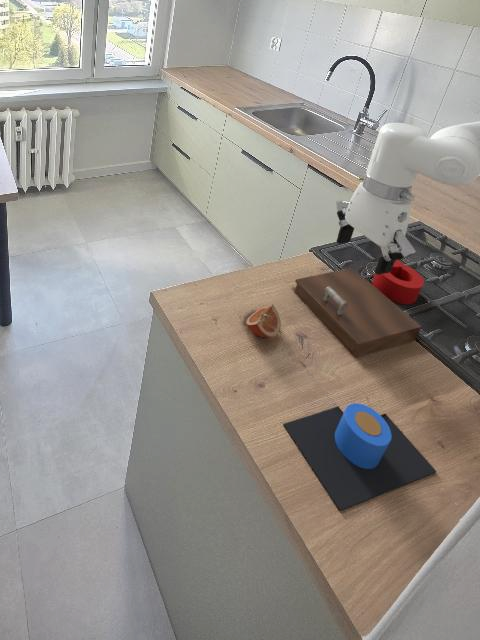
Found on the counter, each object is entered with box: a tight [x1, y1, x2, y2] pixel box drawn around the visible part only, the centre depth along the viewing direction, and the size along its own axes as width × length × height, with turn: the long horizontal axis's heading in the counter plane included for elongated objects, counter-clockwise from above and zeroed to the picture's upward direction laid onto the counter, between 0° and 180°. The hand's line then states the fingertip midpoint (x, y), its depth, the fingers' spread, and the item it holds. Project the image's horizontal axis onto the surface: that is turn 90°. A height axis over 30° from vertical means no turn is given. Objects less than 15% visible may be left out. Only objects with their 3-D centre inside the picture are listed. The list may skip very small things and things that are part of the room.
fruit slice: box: [245, 303, 282, 338], centre depth 93 cm, size 8×7×5 cm
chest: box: [294, 283, 421, 359], centre depth 97 cm, size 17×19×4 cm
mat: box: [283, 406, 438, 512], centre depth 72 cm, size 20×13×1 cm, turn 106°
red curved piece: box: [371, 260, 425, 305], centre depth 108 cm, size 18×9×7 cm, turn 147°
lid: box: [294, 267, 422, 347], centre depth 96 cm, size 17×19×5 cm
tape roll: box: [335, 402, 392, 469], centre depth 71 cm, size 7×7×6 cm
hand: (361, 256), depth 87 cm, fingers open, 9 cm apart
